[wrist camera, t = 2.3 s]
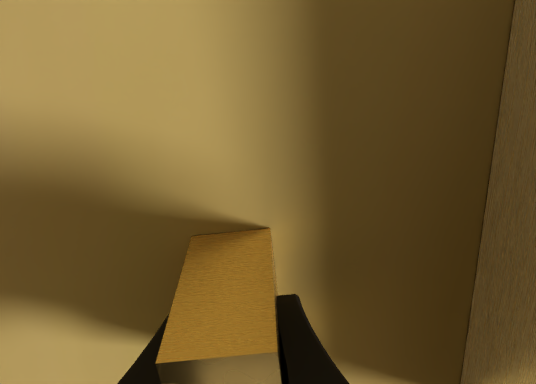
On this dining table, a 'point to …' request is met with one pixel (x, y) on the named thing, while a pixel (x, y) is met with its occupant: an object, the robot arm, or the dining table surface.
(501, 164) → the cash box
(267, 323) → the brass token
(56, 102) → the dining table surface
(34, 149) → the dining table surface
